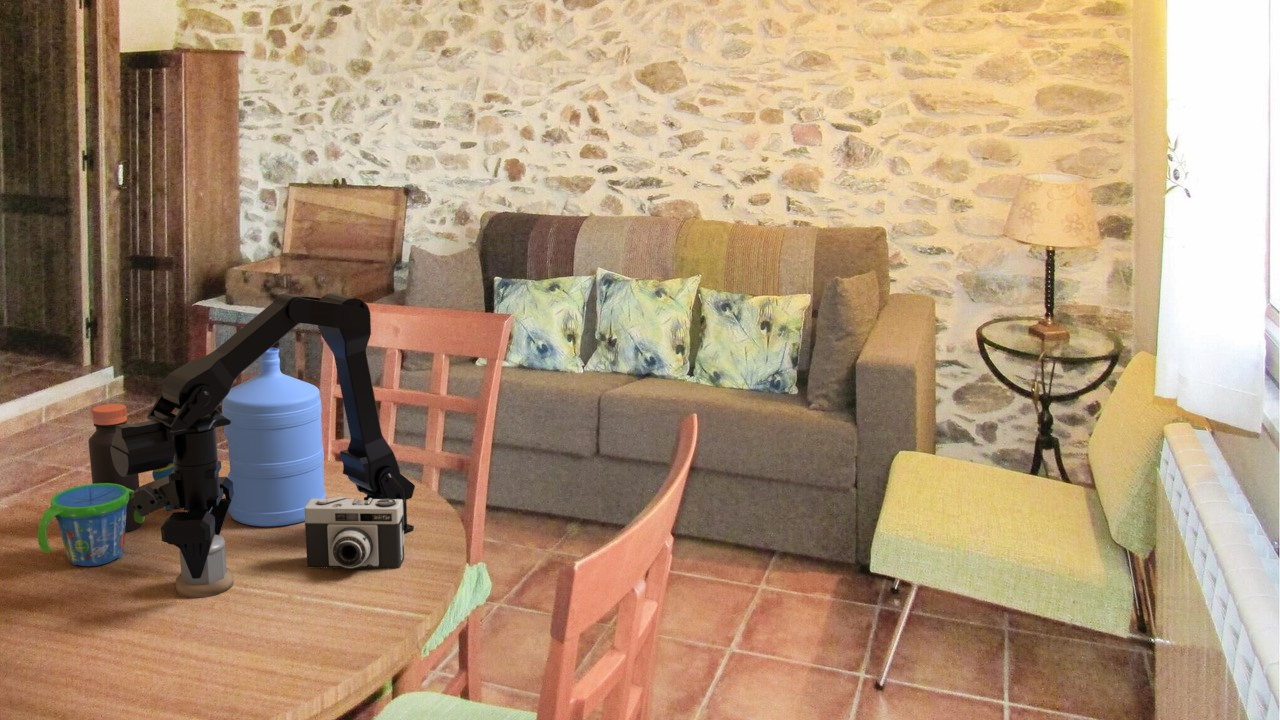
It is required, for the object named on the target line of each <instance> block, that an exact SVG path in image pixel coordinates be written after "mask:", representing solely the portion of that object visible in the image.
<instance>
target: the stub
mask: <svg viewBox="0 0 1280 720" xmlns="http://www.w3.org/2000/svg"><path fill="white" fill-rule="evenodd" d="M226 568H227V572H226V575H225V577H224V579H222V580H219V581H216V582H214V583H211V584H203V585H190V584H188V583H186V582H183V581H182V577H181V573H179V574H178V575H177V576H176V578H175V589H176V593H177V594H178V595H180V596H182V597H184V598H190V599H191V598H193V599H197V598H198V599H199V598H208V597H213V596H217V595H220V594H223V593H225V592H227V591H228V590H230V589H231V588H232V587H233V586H234V572H233V569H231V568H229V567H227V566H226Z"/></svg>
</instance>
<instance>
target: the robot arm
mask: <svg viewBox="0 0 1280 720" xmlns="http://www.w3.org/2000/svg"><path fill="white" fill-rule="evenodd" d="M371 320H372V318H371V310H370V308H369V305H368V304H367V303H366V302H364V301H363V300H362V299H360V298H356V297H352V296H350V295H349V296H348V295H343V294H340V293H336V292H332V293H330V292H329V293H327V294H324V295H323V296H321V297H316V296H315V297H314V296H307V295H295V294H292V293H287V292H285V293H281V294H279V295H277V296H275V298H274V299H273V300H272V302H271V303H270V304H269V305H267V307H265V308H264V309H263V310H262V311H260V313H258V314H257V315H256V316H255V317H254V318H252V319H251V320H250V321H248V322H247V323H246V324H245V325H244V326H243V327H241V328H240V329H239V330H238V331H236V332H235V333H234V334H233V335H232V336H231V337H229V338H228V339H227V340H225V341H224V342H223V343H222V344H221V345H220V346H218V347H217V348H216V349H215V350H213V351H212V352H210V353H208V354H207V355H203V356H201V357H198V358H195V359H192V360H190V361H188V362H187V363H184V364H183V365H181V366H179V367H178V368H176V369H175V370H173V371H172V372H169V373H168V374H167V376H166V377H165V378H164V380H163V382H162V388H161V389H162V390H161V393H160V395H159V396H158V398H157V400H155V403H154V404H153V406H152V408H151V409H150V411H149V412H148V414H147V416H146V419H147V420H146V421H141V422H136V423H135V422H134V423H126V424H122V425H117V426H116V435H115V436H114V437H113V441H112V446H111V447H110V448H111V457H112V461H113V464H114V467H115V469H116V471H117V472H118V474H119V475H120V476H122V477H125V476H130V475H134V474H138V475H140V474H143V473H148V472H153V470H157V469H162V468H166V467H167V466H168V465H169V463H173V461H174V469H173V471H172V472H171V473H170V474H169V476H166V477H163V478H161V479H158V480H155V481H154V480H153V481H150V482H147V483H145V484H142V485H139V487H138V488H137V489H136V490H135V491H134V493H133V494H132V495H131V496H130V498H131V499H130V500H131V502H132V506H131V509H132V510H137V512H138V513H139V515H140V517H143V516H145V517H146V516H149V515H150V513H153V512H155V511H158V510H161V509H165V507H166V506H168V505H170V510H169V511H173V512H172V513H171V514H170V515H169V516H168V517H167V518H166V519H165V520H164V522H163V524H162V525H161V527H160V534H161V541H162V542H164V543H167V544H168V545H173V546H175V547H176V548H178V549H180V550H181V553H182V555H183V557H184V559H185V562H186V564H187V566H188V569H189V571H190V574H191V576H192V578H193V579H199V578H201V576H202V573H203V570H204V567H205V564H206V561H207V558H208V554H209V551H210V548H211V545H212V542H213V539H214V536H215V535H219V536H221V532H222V529H223V527H224V523H225V521H226V517H227V515H228V513H229V507H230V504H231V502H232V499H231V498H232V496H233V494H234V490H233V482H232V481H231V480H230V479H228V476H220V473H219V472H220V471H221V469H222V460H219V458H218V444H217V443H218V442H217V431H216V428H219V427H224V426H225V425H229V424H230V423H231V420H229V419H227V418H226V417H224V416H223V415H222V412H221V411H220V410H219V409H217V408H218V407H219V406H220V405H221V403H223V402H222V401H223V399H224V398H225V397H226V396H227V395H228V393H229V392H230V389H231V388H233V385H234V382H235V380H236V379H237V378H238V377H239V376H240V375H241V373H242V374H243V372H244V371H245V370H246V369H248V368H249V367H250V366H251V365H252V364H253V363H254V362H255V361H257V360H258V359H260V356H262V355H263V354H264V353H265V352H266V351H267V350H269V349H270V348H273V347H274V346H275V345H276V343H278V342H279V341H281V340H282V339H283V338H284V337H285V336H286V335H287V334H289V333H290V332H291V331H292V330H293V329H295V327H297V326H298V325H299V324H306V325H307V324H308V325H314V326H317V327H318V331H319V333H320V336H321V337H322V339H323V340H324V342H325V343H326V344H327V346H328V347H329V349H330V351H331V353H332V354H333V357H334V362H335V366H336V372H337V377H338V382H339V387H340V391H341V396H342V402H343V407H344V411H345V416H346V422H347V425H348V432H349V435H350V436H349V437H350V441H349V443H348V447H347V449H344V450H340V452H339V456H340V460H341V461H342V464H343V465H342V466H343V469H342V474H343V475H345V476H347V478H348V480H349V481H350V482H352V483H353V484H355V486H356V489H357V491H358V492H359V493H363V494H366V496H364V497H363V500H368V499H369V498H372V499H402V500H403V530H404V534H405V533H408V532H411V531H413V530H415V529H414V528H415V526H414V525H412V524H408V515H407V512H408V509H407V500H409V499H412V498H413V496H414V492H415V487H416V486H415V484H414V483H413V482H411V481H410V480H409V479H408V478H407V477H406V476H405V475H403V474H402V473H401V468H400V465H399V463H398V460H397V458H396V455H395V453H394V451H393V449H392V447H390V444H389V443H388V442H387V440H386V439H385V437H384V436H383V433H382V428H381V422H380V418H379V417H380V416H379V413H378V407H377V403H376V398H375V392H374V386H373V382H372V381H373V380H372V376H371V371H370V370H371V369H370V366H369V360H368V354H367V348H368V344H369V343H370V342H369V341H370V339H371V338H370V337H371V335H372V321H371ZM174 410H175V411H178V412H177V414H175V413H173V412H174ZM224 497H225V498H224ZM181 509H183V511H177V510H181ZM174 510H175V511H174ZM180 550H179V551H180Z"/></svg>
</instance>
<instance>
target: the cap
mask: <svg viewBox="0 0 1280 720" xmlns="http://www.w3.org/2000/svg"><path fill="white" fill-rule="evenodd" d="M225 543H226V541H225V537H223V536H222V535H215V536H214V539H213V542H212V545H211V548H210V551H209V554H208V558H207V561H206V564H205V567H204V570H203V573H202V576H201V578H199V579H193V578H192V576H191V574H190V571H189V569H188V566H187V564H186V562H185V559H184V557H183V555H182V553H181V550H180V549H179V548H178V549H179V550H178V551H179V563H180V574H181V577H182V581H183V582H186V583H188V584H190V585H203V584H211V583H214V582H216V581H219V580H222V579H224V577H225V575H226V572H227V568H228V567H227V555H226V554H227V553H226V544H225ZM226 567H227V568H226Z"/></svg>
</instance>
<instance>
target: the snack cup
mask: <svg viewBox="0 0 1280 720" xmlns="http://www.w3.org/2000/svg"><path fill="white" fill-rule="evenodd" d="M129 493H130V494H133V493H134V491H133V490H131V489H128V488H126V487H124V486H122V485H118V484H111V483H98V484H92V483H88V484H81V485H76V486H73V487H69V488H66V489H63V490H62V491H59V492H57V493H56V494H54V495H52V497H51V499H50V506H49V508H47V509H46V511H44V512H43V514H42V517H41V518H40V521H39V523H38V529H37V544H38V546H39V548H40V550H41V551H42V552H43V553H45V554H51V553H52V550H51V546H50V544H49V540H48V536H47V529H48V526H49V525H50V523H51V522H52V521H53V519H54V517H55V520H56V521H57V525H58V528H59V529H58V530H59V532H60V534H61V538H62V539H61V540H62V543H63V546H64V550H65V553H66V556H67V558H68V560H69V561H70V563H71V564H72V565H73V566H81V567H94V566H95V567H96V566H101V565H106V564H109V563H111V562H113V561H115V560H117V559H120V558H121V557H122V555H123V553H124V551H125V550H124V548H125V544H126V543H125V542H126V532H125V526H126V507H127V503H128V501H129ZM145 518H146V516H143V517H140V515H139V513H138V512H137V510H134V520H135V522H137V523H142V524H143V523H144V522H145Z"/></svg>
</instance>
